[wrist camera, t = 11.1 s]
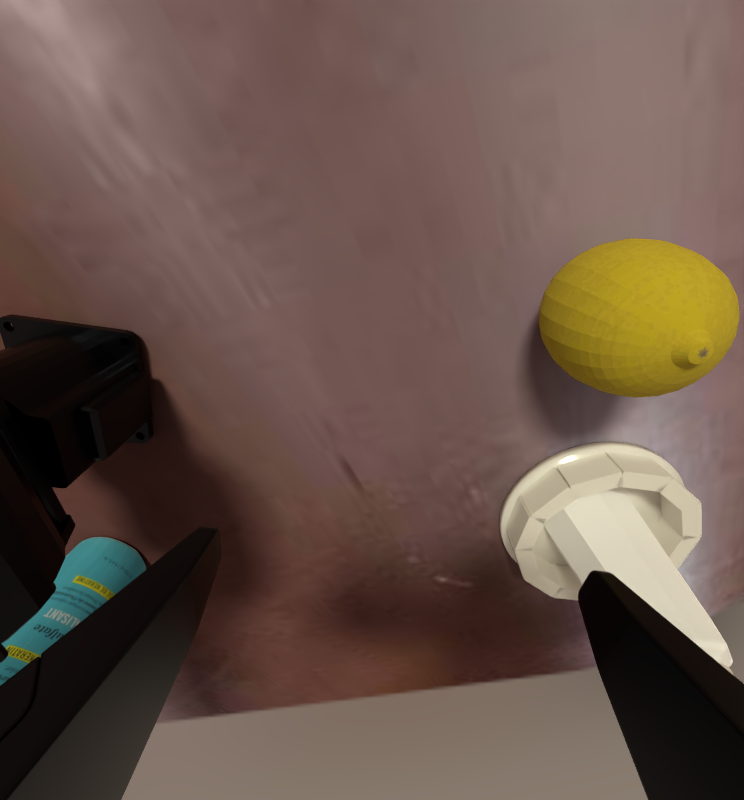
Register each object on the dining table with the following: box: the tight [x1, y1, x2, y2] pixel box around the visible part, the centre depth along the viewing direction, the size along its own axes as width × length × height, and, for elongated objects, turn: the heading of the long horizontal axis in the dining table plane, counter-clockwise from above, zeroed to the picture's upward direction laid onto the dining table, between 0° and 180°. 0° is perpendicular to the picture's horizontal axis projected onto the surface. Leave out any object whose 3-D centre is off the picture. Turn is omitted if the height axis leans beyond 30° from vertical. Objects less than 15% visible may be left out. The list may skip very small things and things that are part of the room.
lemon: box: [539, 239, 740, 397], centre depth 14 cm, size 6×6×8 cm
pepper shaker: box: [545, 490, 733, 674], centre depth 19 cm, size 5×5×11 cm
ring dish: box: [499, 442, 702, 600], centre depth 23 cm, size 11×11×2 cm
